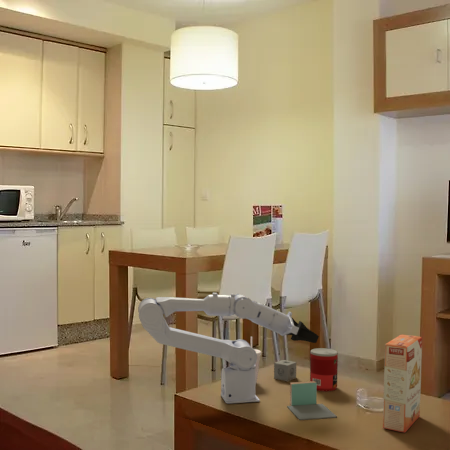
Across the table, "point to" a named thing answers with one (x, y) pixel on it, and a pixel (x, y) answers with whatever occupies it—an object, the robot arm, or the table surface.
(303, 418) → the mat
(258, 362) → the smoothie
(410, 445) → the table surface
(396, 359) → the cracker box
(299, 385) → the tile
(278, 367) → the dice cube
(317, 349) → the canned food
